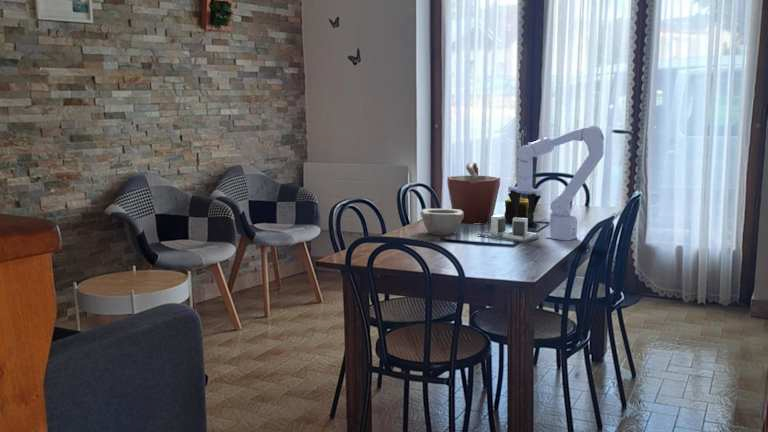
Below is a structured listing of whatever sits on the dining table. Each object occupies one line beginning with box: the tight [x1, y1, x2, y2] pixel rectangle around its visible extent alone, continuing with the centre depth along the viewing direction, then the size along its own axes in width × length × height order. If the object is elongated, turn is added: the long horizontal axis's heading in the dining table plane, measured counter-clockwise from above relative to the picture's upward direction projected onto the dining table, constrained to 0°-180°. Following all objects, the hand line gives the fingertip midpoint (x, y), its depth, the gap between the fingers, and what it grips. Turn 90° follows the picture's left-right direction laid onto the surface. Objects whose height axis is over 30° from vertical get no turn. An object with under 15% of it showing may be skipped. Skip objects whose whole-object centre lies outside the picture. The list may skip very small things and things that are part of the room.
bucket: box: [446, 162, 501, 225], centre depth 306 cm, size 24×22×25 cm
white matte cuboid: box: [511, 217, 529, 237], centre depth 267 cm, size 4×5×7 cm
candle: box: [504, 198, 535, 225], centre depth 302 cm, size 10×10×10 cm
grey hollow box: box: [477, 214, 539, 243], centre depth 271 cm, size 20×11×8 cm, turn 51°
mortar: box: [420, 208, 464, 236], centre depth 278 cm, size 17×17×9 cm
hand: (523, 212), depth 273 cm, fingers open, 7 cm apart
